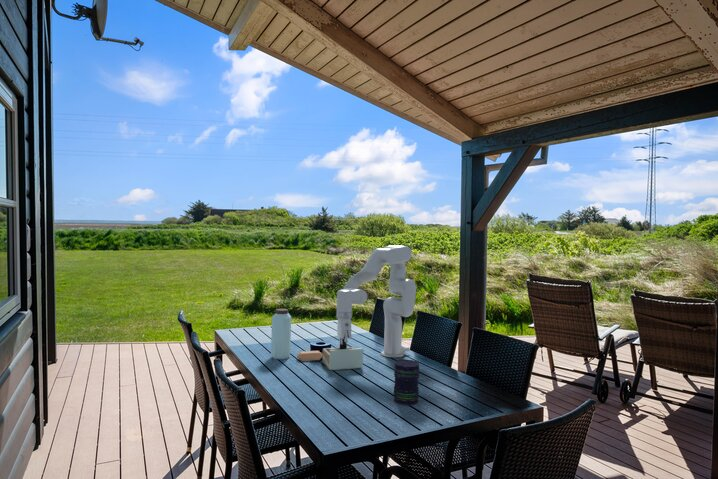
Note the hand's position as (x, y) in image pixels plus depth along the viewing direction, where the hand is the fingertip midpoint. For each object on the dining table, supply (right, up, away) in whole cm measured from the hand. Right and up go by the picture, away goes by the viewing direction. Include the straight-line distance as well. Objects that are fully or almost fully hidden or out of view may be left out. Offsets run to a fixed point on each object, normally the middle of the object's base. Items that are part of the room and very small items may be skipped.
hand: (343, 352), depth 221 cm
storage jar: (+26, -8, -45) cm, 52 cm away
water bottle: (-33, -6, +13) cm, 36 cm away
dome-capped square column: (-18, -7, +11) cm, 22 cm away
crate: (-1, -7, +2) cm, 7 cm away
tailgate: (+2, -6, -5) cm, 8 cm away
